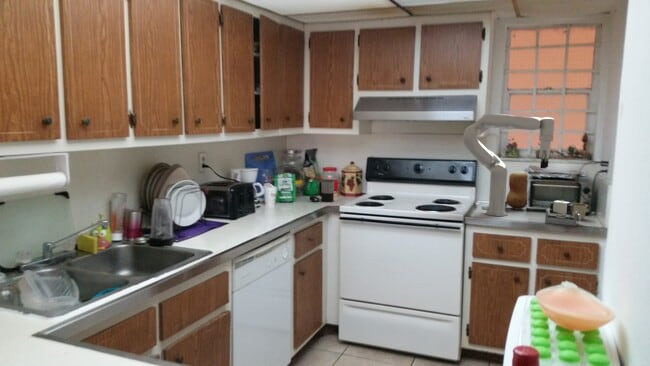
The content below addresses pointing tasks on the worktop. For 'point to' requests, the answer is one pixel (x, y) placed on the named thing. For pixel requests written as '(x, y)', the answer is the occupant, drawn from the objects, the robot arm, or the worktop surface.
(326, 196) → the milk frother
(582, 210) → the flower pot
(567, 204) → the pneumatic valve
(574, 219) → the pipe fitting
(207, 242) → the worktop surface
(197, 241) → the worktop surface
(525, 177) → the butternut squash
